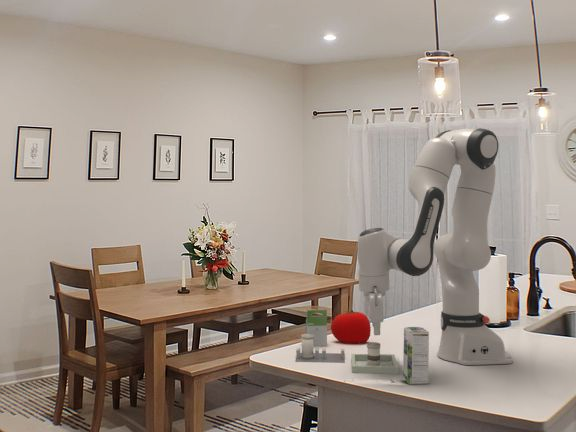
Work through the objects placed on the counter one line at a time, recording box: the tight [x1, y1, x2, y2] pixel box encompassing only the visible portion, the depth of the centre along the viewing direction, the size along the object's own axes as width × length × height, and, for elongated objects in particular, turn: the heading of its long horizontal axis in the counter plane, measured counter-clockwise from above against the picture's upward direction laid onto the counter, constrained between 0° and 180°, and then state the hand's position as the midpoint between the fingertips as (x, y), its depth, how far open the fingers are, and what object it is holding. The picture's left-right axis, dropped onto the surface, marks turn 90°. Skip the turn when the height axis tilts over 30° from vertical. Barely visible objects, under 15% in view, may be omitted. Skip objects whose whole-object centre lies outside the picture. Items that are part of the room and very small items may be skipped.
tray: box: [350, 353, 399, 375], centre depth 168 cm, size 13×13×3 cm
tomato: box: [330, 309, 372, 345], centre depth 198 cm, size 12×14×11 cm
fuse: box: [366, 341, 381, 366], centre depth 168 cm, size 4×4×7 cm
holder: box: [294, 332, 346, 364], centre depth 177 cm, size 15×10×8 cm, turn 84°
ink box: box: [305, 309, 328, 348], centre depth 192 cm, size 7×4×13 cm, turn 92°
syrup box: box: [402, 326, 430, 385], centre depth 157 cm, size 6×6×14 cm
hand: (376, 330), depth 168 cm, fingers open, 8 cm apart
